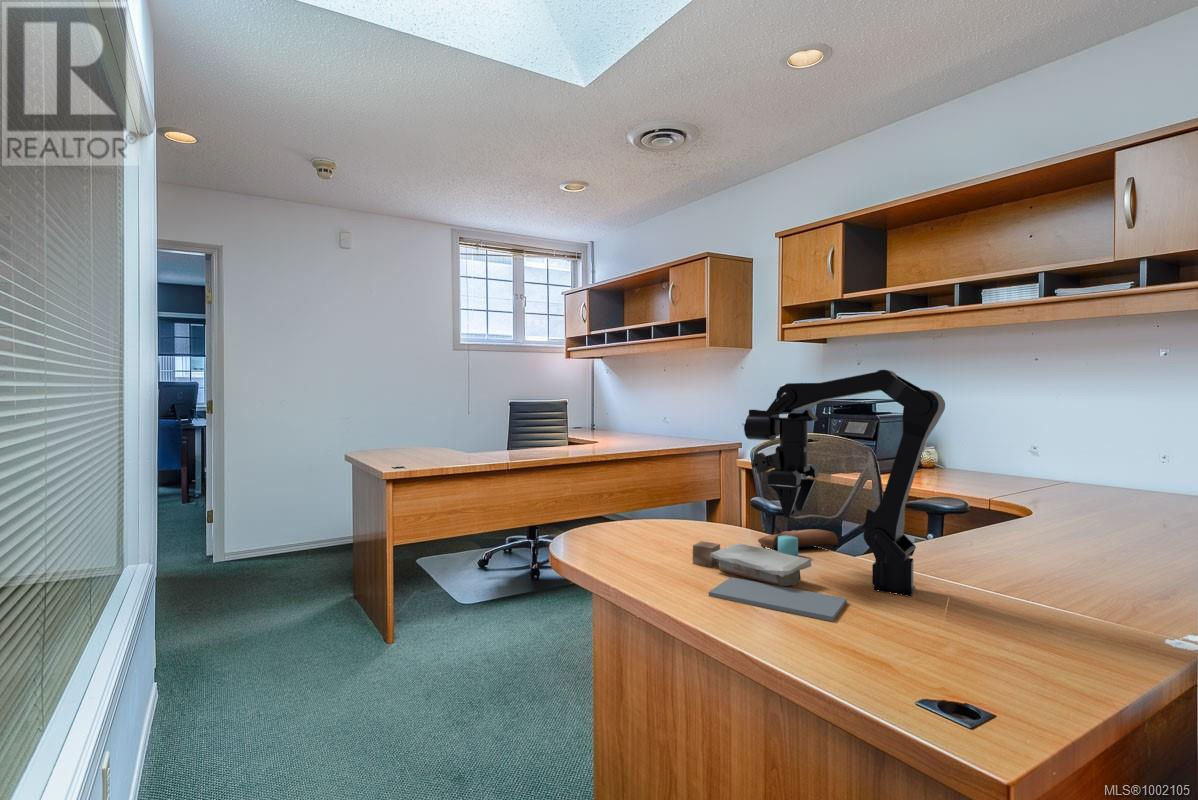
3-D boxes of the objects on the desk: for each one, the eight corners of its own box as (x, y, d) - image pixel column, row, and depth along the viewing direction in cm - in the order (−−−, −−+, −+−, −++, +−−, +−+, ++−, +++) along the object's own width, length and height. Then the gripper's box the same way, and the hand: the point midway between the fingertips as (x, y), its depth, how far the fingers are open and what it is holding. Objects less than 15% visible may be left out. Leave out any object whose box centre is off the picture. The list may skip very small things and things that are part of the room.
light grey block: (739, 562, 131) (710, 573, 125) (738, 541, 131) (709, 551, 125) (813, 582, 117) (784, 595, 111) (812, 558, 117) (783, 570, 111)
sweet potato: (816, 535, 153) (826, 518, 149) (830, 557, 147) (841, 540, 143) (755, 539, 147) (764, 522, 144) (767, 562, 142) (777, 545, 138)
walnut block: (719, 564, 131) (719, 544, 131) (711, 568, 128) (711, 548, 128) (701, 560, 134) (701, 541, 134) (692, 565, 130) (692, 545, 130)
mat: (846, 602, 106) (846, 598, 106) (832, 621, 97) (832, 616, 97) (730, 581, 119) (730, 577, 119) (708, 596, 110) (708, 591, 110)
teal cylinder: (800, 556, 138) (800, 537, 138) (795, 560, 134) (795, 540, 134) (780, 553, 141) (780, 534, 141) (775, 557, 137) (775, 538, 137)
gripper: (770, 437, 139) (770, 503, 139) (742, 442, 124) (741, 516, 124) (819, 439, 133) (818, 508, 133) (795, 445, 118) (795, 523, 118)
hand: (793, 513), depth 127 cm, fingers open, 9 cm apart
